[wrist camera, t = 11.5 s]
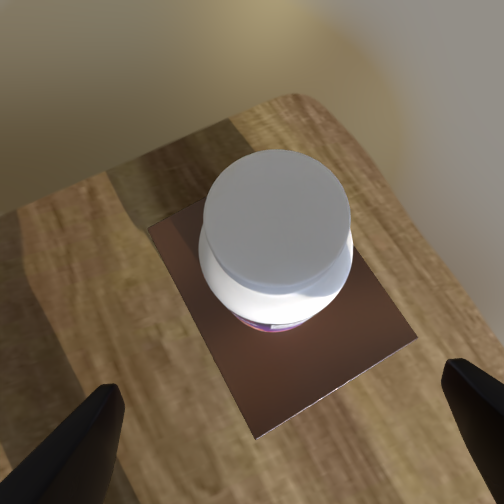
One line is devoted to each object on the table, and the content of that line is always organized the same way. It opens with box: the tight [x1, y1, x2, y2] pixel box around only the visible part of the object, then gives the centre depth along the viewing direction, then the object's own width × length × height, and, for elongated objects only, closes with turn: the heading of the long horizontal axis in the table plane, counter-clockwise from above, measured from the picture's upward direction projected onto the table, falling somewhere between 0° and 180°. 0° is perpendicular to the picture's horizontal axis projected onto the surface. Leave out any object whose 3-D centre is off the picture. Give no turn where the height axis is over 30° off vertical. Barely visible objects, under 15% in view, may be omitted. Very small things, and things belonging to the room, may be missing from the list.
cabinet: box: [147, 197, 418, 440], centre depth 21 cm, size 13×10×5 cm
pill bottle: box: [199, 149, 353, 332], centre depth 14 cm, size 5×5×10 cm
